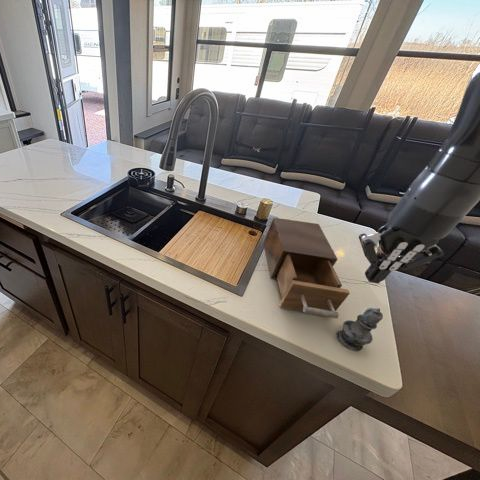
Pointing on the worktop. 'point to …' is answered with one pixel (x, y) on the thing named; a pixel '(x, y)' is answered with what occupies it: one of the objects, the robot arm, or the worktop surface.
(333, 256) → the cabinet
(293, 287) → the open wooden drawer
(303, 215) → the worktop surface
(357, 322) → the dark grey chess piece
